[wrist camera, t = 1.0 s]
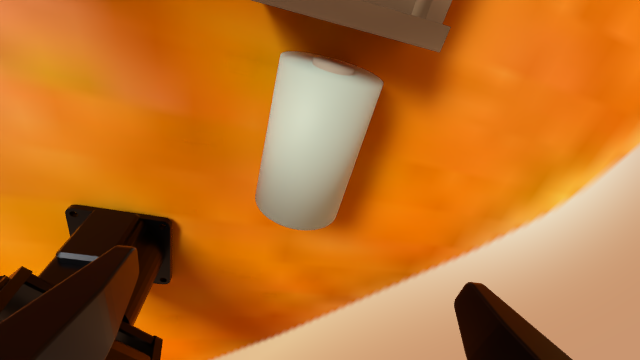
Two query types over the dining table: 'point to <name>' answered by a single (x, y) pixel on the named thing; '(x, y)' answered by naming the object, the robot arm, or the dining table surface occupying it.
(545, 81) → the dining table surface
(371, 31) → the tray
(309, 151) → the roll
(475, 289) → the robot arm
